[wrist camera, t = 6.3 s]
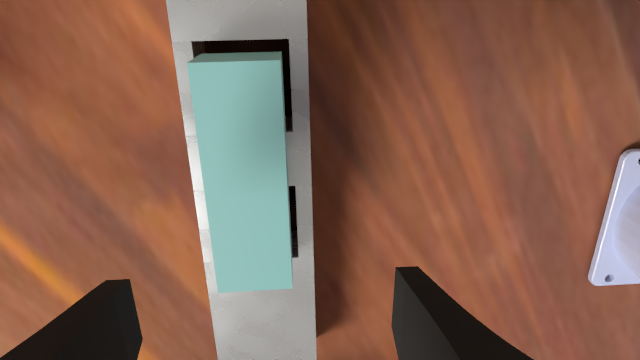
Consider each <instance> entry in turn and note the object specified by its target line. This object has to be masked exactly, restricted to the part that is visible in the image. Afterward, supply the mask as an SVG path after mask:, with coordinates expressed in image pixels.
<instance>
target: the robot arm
mask: <svg viewBox="0 0 640 360" xmlns="http://www.w3.org/2000/svg"><path fill="white" fill-rule="evenodd" d="M639 159H640V149H629V150H626V151H625V152H623V153H622V154H621V156H620V158H619V161H618V165H617V169H616V173H615V176H614V180H613V184H612V188H611V191H610V195H609V199H608V203H607V207H606V210H605V214H604V218H603V222H602V225H601V229H600V233H599V237H598V240H597V244H596V248H595V252H594V255H593V259H592V263H591V267H590V270H589V274H588V279H589V281H590V282H591V283H592V284H593V285H595V286H603V285H621V284H638V283H640V161H639V162H638V160H639ZM607 275H608V276H607ZM606 276H607V277H606ZM605 277H606V278H605ZM392 330H393V335H394V340H395V344H396V349H397V353H398V357H399V360H533V359H532V358H530V357H529V356H527V355H526V354H524V353H523V352H521V351H520V350H518V349H516V348H515V347H513V346H512V345H510V344H509V343H508V342H506V341H505V340H503V339H502V338H501V337H499V336H498V335H496V334H495V333H494V332H493V331H491V330H490V329H489V328H487V327H486V326H485V325H483V324H482V323H481V322H480V321H478V320H477V319H476V318H475V317H473V316H472V315H471V314H470V313H469V312H467V311H466V310H465V309H464V308H463V307H461V306H460V305H459V304H458V303H457V302H456V301H455V300H453V299H452V298H451V297H450V296H449V295H448V294H447V293H446V292H445V291H444V290H442V289H441V288H440V287H439V286H438V285H437V284H436V283H435V282H434V281H433V280H432V279H431V278H430V277H428V276H427V275H426V274H425V273H424V272H423V271H422V270H421V269H420V268H419V267H418V266H416V267H396V271H395V285H394V300H393V314H392ZM141 343H142V334H141V330H140V325H139V320H138V316H137V311H136V306H135V302H134V297H133V293H132V288H131V283H130V279H124V280H106V281H105V282H103V283H102V284H100V285H99V286H97V287H96V288H95V289H93V290H92V291H91V292H89V293H88V294H87V295H85V296H84V297H83V298H81V299H80V300H79V301H77V302H76V303H75V304H74V305H72V306H71V307H70V308H68V309H67V310H66V311H64V312H63V313H62V314H60V315H59V316H58V317H56V318H55V319H54V320H52V321H51V322H50V323H49V324H47V325H46V326H45V327H43V328H42V329H41V330H39V331H38V332H36V333H35V334H34V335H32V336H31V337H29V338H28V339H26V340H25V341H24V342H22V343H21V344H19V345H18V346H16V347H15V348H14V349H12V350H11V351H9V352H8V353H7V354H5V355H4V356H2V357H1V358H0V360H137V358H138V354H139V350H140V347H141Z"/></svg>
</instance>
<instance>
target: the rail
mask: <svg viewBox="0 0 640 360" xmlns="http://www.w3.org/2000/svg"><path fill="white" fill-rule="evenodd" d="M166 4H167V11H168V18H169V25H170V31H171V38H172V45H173V52H174V59H175V66H176V73H177V80H178V87H179V94H180V101H181V107H182V114H183V121H184V128H185V135H186V142H187V149H188V156H189V163H190V170H191V177H192V183H193V190H194V197H195V204H196V211H197V218H198V225H199V232H200V239H201V246H202V253H203V259H204V266H205V273H206V280H207V287H208V294H209V301H210V308H211V315H212V322H213V329H214V335H215V342H216V349H217V356H218V360H317V355H316V320H315V284H314V249H313V213H312V178H311V142H310V107H309V71H308V36H307V1H306V0H166ZM263 39H289V53H290V76H291V98H292V116H286V117H285V125H286V144H287V163H288V182H289V186H295V189H296V211H297V231H291V240H292V272H293V289H278V290H260V291H243V292H226V293H218V290H217V282H216V275H215V268H214V260H213V253H212V245H211V238H210V231H209V223H208V216H207V208H206V201H205V194H204V186H203V179H202V171H201V164H200V157H199V149H198V142H197V135H196V127H195V120H194V112H193V105H192V98H191V90H190V83H189V75H188V68H187V62H189V61H190V60H192V59H194V58H195V57H197V56H198V55H200V54H206V53H205V44H204V41H223V40H263Z"/></svg>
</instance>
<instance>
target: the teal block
mask: <svg viewBox="0 0 640 360" xmlns="http://www.w3.org/2000/svg"><path fill="white" fill-rule="evenodd" d="M187 68H188V75H189V83H190V90H191V98H192V105H193V112H194V120H195V127H196V135H197V142H198V149H199V157H200V164H201V171H202V179H203V186H204V194H205V201H206V208H207V216H208V223H209V231H210V238H211V245H212V253H213V260H214V268H215V275H216V282H217V290H218V293H226V292H243V291H260V290H278V289H293V272H292V240H291V221H290V202H289V182H288V163H287V144H286V125H285V105H284V86H283V67H282V51H279V52H243V53H207V54H200V55H198V56H197V57H195V58H194V59H192V60H190V61H189V62H187Z"/></svg>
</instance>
